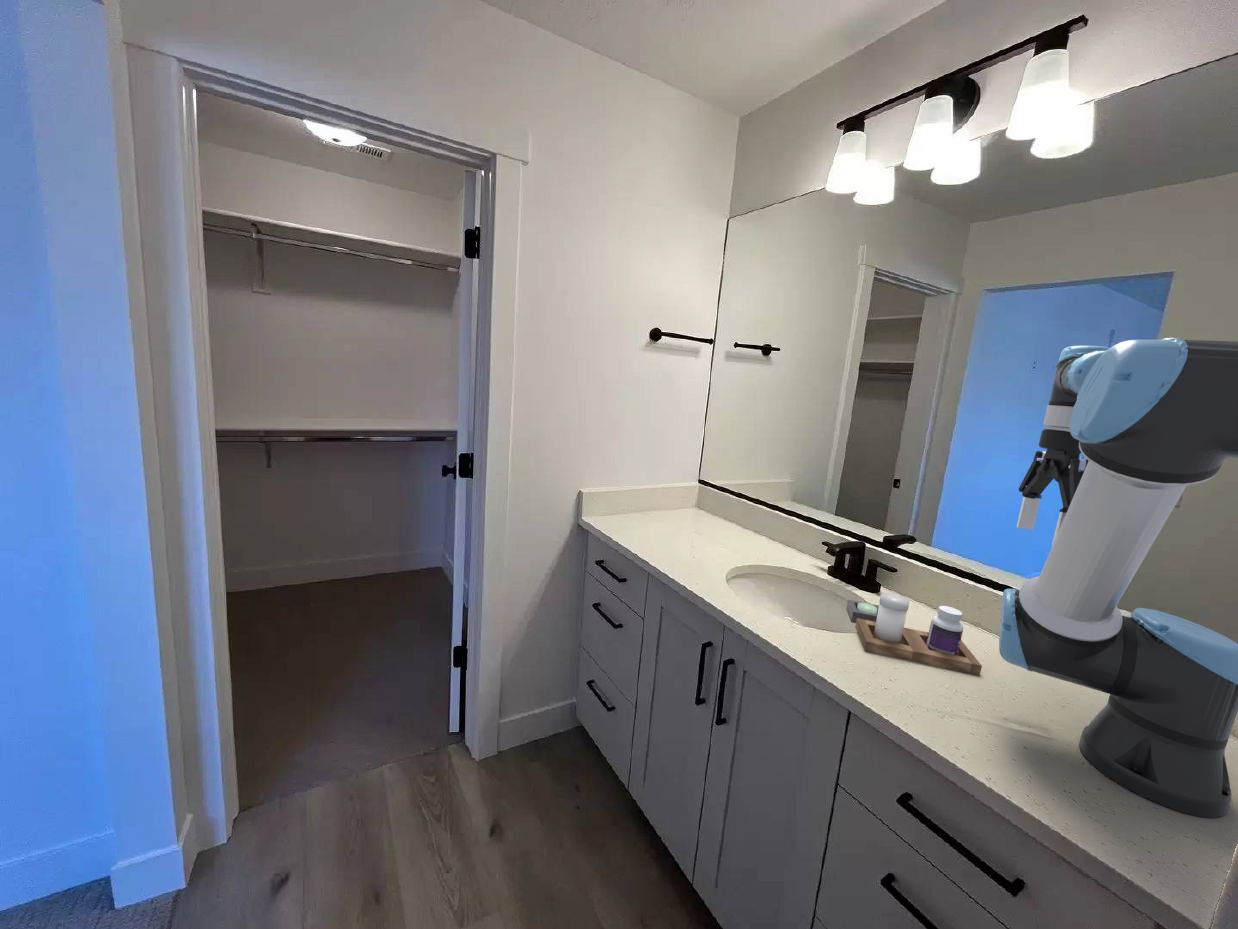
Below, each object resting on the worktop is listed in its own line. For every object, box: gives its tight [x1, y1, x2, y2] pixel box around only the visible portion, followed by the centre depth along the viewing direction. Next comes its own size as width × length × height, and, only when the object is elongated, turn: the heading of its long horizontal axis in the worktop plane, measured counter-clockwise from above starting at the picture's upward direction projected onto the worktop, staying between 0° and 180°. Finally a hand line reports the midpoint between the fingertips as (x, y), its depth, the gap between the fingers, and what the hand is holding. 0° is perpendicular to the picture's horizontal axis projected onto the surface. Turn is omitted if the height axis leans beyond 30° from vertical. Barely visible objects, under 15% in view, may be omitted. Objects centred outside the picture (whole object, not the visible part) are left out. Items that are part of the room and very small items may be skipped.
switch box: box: [845, 599, 879, 624], centre depth 115 cm, size 7×7×4 cm
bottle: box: [873, 592, 910, 644], centre depth 103 cm, size 5×5×10 cm
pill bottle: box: [926, 605, 964, 656], centre depth 100 cm, size 5×5×10 cm
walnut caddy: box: [855, 618, 983, 676], centre depth 102 cm, size 20×11×3 cm, turn 74°
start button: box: [857, 602, 877, 614], centre depth 115 cm, size 4×4×3 cm
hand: (1041, 537), depth 99 cm, fingers open, 13 cm apart
